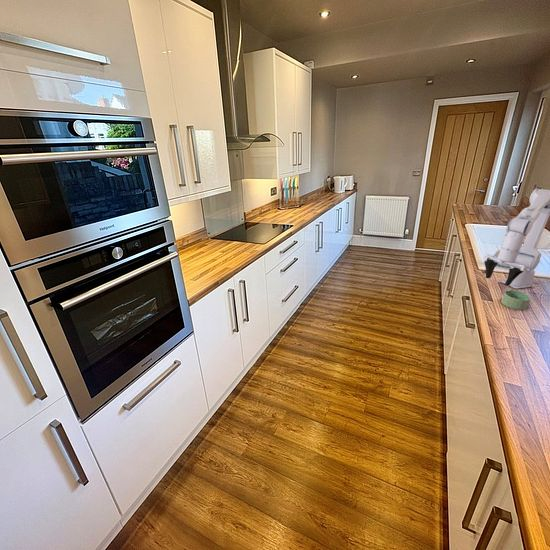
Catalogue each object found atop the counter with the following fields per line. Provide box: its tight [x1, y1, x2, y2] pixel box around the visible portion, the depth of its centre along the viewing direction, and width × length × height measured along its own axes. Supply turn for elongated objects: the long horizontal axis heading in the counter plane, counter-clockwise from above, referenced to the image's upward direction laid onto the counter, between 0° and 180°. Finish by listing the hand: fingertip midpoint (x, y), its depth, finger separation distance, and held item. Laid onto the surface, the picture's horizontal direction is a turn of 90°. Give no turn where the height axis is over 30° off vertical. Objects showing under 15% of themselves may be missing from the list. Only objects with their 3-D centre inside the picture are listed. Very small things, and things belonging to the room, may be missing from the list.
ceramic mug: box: [493, 249, 511, 268], centre depth 156 cm, size 11×8×8 cm
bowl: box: [500, 289, 532, 311], centre depth 121 cm, size 9×9×4 cm
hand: (497, 281), depth 117 cm, fingers open, 7 cm apart
